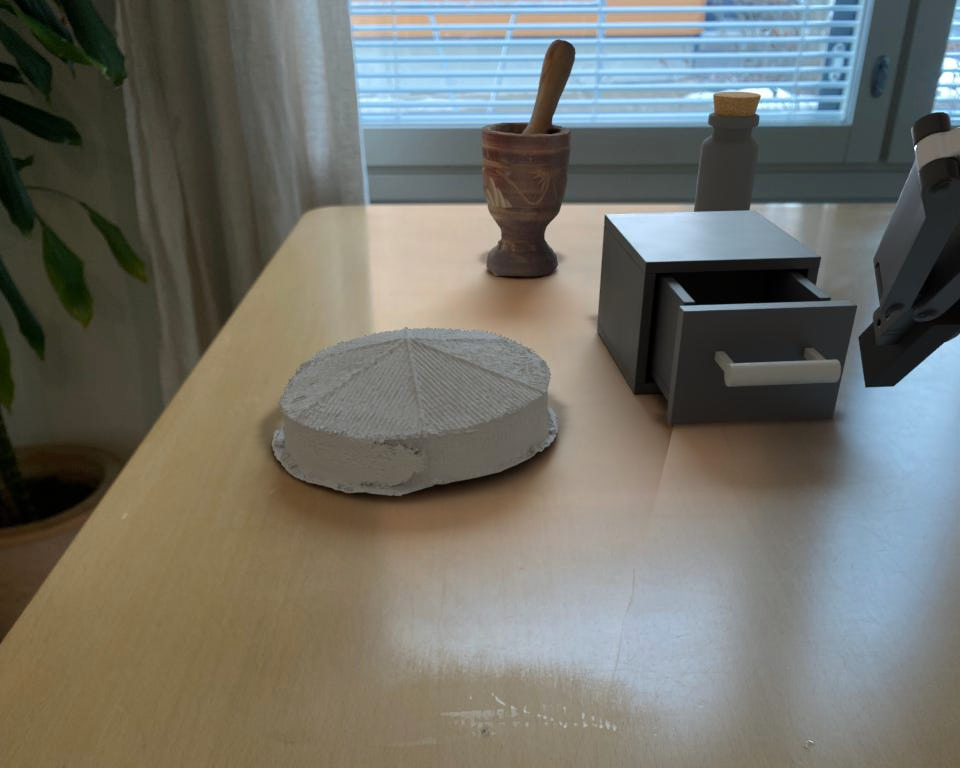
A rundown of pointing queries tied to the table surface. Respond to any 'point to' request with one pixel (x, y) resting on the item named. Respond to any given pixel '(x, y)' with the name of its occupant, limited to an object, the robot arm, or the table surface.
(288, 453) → the grey round squat piece
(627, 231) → the cabinet
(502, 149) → the mortar and pestle
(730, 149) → the bottle
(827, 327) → the drawer
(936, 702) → the table surface
